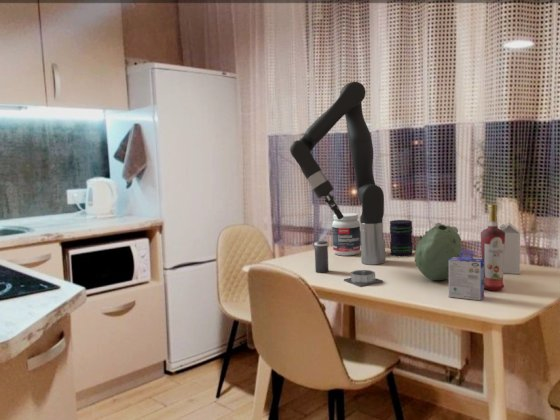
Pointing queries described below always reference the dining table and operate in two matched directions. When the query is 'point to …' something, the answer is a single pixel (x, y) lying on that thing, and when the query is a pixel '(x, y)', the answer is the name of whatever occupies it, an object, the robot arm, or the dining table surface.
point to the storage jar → (401, 238)
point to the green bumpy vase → (437, 251)
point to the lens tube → (321, 256)
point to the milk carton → (511, 249)
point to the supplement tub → (346, 235)
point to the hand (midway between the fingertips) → (341, 218)
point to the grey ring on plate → (363, 278)
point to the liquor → (493, 252)
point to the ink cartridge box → (466, 277)
